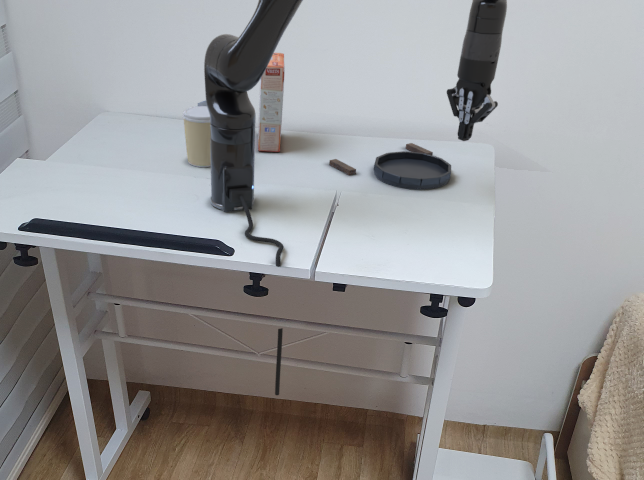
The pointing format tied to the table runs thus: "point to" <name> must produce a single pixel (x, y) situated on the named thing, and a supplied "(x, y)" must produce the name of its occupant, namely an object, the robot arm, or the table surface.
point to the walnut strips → (351, 170)
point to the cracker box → (271, 105)
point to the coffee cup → (197, 135)
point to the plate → (412, 170)
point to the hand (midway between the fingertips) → (463, 139)
